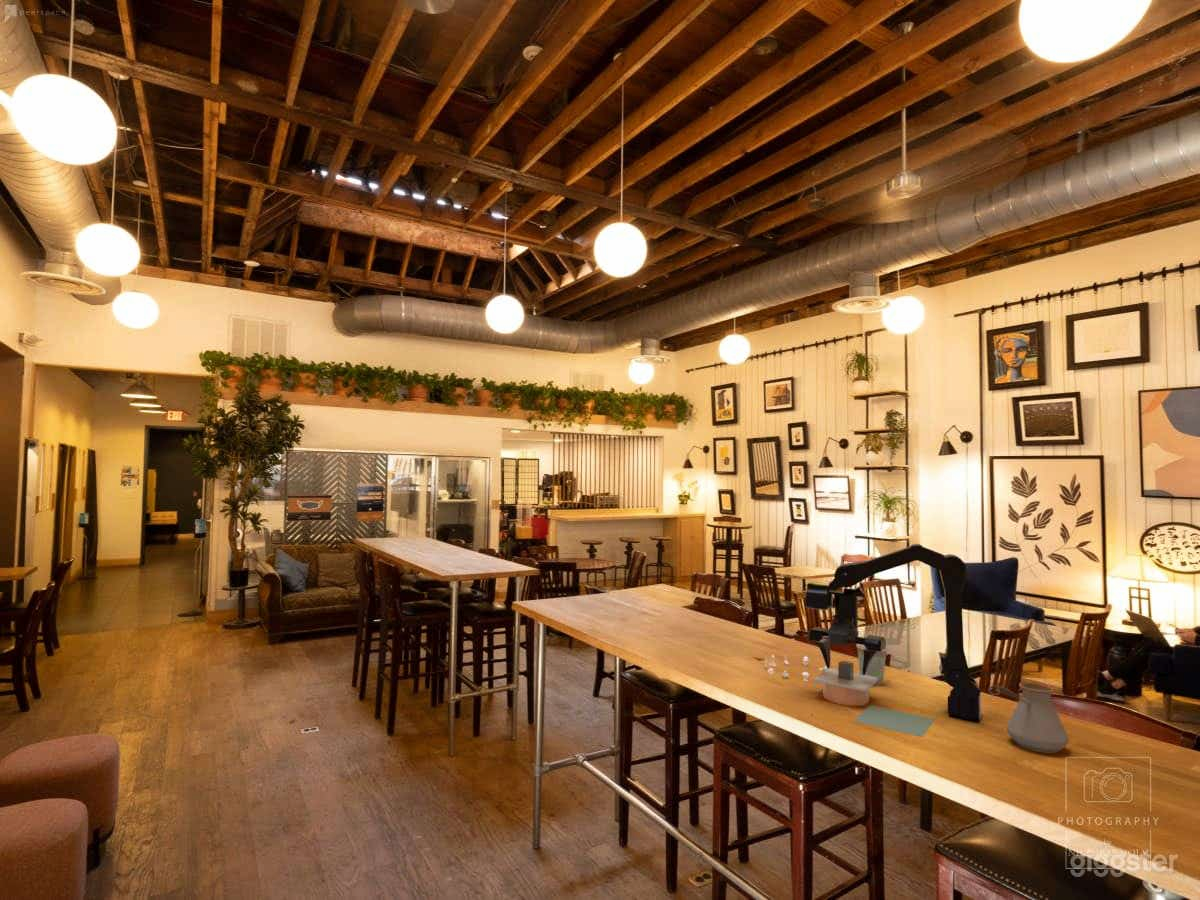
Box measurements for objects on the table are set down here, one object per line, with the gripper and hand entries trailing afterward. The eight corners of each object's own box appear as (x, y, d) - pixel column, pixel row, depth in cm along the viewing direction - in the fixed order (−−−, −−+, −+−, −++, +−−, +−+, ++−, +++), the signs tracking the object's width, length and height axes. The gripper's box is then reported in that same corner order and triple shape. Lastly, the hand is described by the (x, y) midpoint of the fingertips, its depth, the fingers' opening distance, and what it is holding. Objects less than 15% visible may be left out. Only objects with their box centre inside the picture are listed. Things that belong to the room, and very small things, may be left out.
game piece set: (788, 661, 211) (788, 649, 211) (843, 676, 195) (843, 663, 195) (749, 669, 199) (749, 657, 200) (804, 686, 183) (804, 672, 184)
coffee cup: (854, 684, 186) (854, 641, 187) (857, 676, 194) (857, 636, 194) (886, 689, 182) (886, 645, 183) (888, 681, 190) (888, 639, 190)
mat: (934, 721, 157) (934, 719, 157) (922, 739, 145) (922, 737, 145) (870, 707, 166) (870, 705, 166) (853, 723, 154) (853, 721, 154)
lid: (878, 680, 172) (878, 662, 173) (864, 691, 162) (864, 672, 162) (828, 670, 180) (829, 653, 180) (813, 680, 170) (813, 663, 170)
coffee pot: (1025, 733, 150) (1024, 667, 151) (1080, 752, 140) (1079, 681, 141) (967, 747, 141) (966, 677, 142) (1021, 768, 130) (1021, 693, 131)
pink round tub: (873, 699, 172) (873, 679, 172) (861, 710, 163) (861, 689, 163) (831, 691, 179) (831, 672, 179) (818, 700, 170) (818, 680, 170)
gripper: (801, 611, 171) (800, 671, 170) (875, 621, 160) (875, 685, 159) (815, 605, 180) (814, 662, 179) (886, 615, 169) (886, 676, 168)
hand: (846, 671), depth 171 cm, fingers open, 9 cm apart
